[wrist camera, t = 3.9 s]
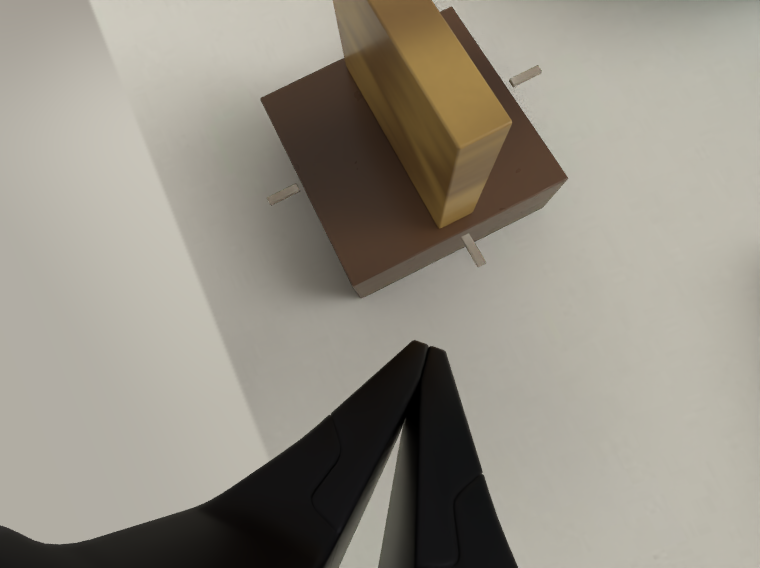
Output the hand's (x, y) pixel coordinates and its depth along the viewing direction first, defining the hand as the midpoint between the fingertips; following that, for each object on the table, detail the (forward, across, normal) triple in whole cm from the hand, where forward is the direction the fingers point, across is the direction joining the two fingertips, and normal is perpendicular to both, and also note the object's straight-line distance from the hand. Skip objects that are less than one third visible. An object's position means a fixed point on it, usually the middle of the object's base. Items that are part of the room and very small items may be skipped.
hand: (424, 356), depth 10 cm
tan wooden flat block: (+10, +3, -3) cm, 11 cm away
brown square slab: (+12, +4, 0) cm, 13 cm away
